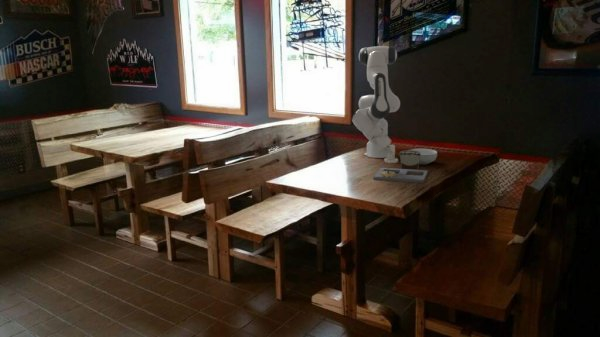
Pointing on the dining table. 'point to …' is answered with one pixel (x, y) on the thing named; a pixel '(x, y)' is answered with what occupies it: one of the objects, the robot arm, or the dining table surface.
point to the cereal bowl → (426, 155)
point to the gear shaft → (391, 157)
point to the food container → (410, 159)
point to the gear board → (400, 175)
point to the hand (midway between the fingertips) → (392, 152)
